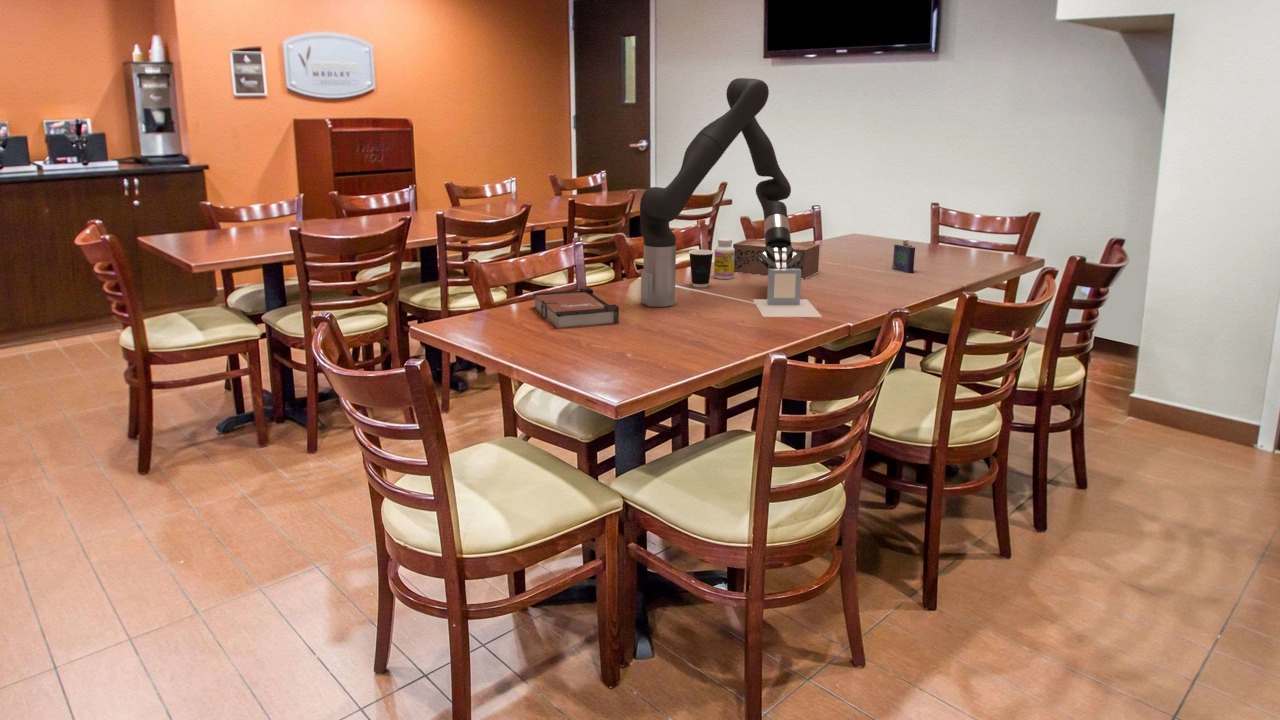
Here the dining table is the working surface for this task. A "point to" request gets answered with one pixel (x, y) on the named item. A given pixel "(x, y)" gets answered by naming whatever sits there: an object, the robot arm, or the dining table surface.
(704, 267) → the dixie cup
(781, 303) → the tile
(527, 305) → the dining table surface
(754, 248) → the tissue box cover
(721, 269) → the supplement bottle
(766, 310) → the board
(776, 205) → the robot arm
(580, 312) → the book
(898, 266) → the flask
